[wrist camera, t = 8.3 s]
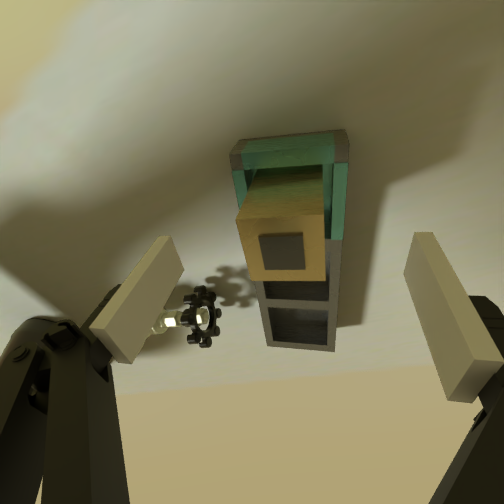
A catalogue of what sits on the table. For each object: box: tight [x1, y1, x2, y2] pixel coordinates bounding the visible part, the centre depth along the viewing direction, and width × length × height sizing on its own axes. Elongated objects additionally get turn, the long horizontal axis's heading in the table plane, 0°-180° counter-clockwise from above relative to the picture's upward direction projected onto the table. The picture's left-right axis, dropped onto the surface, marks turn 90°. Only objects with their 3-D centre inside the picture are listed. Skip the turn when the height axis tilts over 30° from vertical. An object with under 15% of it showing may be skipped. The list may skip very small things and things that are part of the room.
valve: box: [138, 285, 222, 354], centre depth 31 cm, size 7×7×12 cm
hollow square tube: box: [236, 164, 326, 281], centre depth 18 cm, size 5×5×8 cm
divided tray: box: [229, 129, 349, 352], centre depth 25 cm, size 7×22×3 cm, turn 8°
